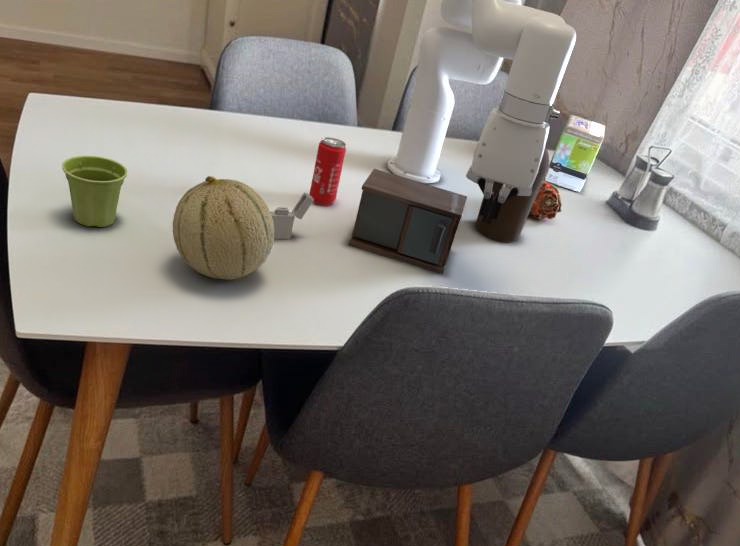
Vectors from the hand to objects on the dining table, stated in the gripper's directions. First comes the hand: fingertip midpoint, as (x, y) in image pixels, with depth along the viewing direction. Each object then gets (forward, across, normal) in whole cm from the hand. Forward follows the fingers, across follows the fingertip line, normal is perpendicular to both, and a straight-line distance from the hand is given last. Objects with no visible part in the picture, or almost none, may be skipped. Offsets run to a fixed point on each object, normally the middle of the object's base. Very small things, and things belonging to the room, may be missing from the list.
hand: (486, 220), depth 116 cm
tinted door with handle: (+11, +9, -2) cm, 14 cm away
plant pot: (+13, +60, +16) cm, 63 cm away
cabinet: (+12, +13, -8) cm, 20 cm away
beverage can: (+12, +31, -18) cm, 38 cm away
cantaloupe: (+13, +37, +20) cm, 44 cm away
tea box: (+12, -20, -79) cm, 82 cm away
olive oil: (+12, -4, -29) cm, 32 cm away
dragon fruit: (+12, -12, -46) cm, 49 cm away
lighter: (+13, +32, +1) cm, 35 cm away
